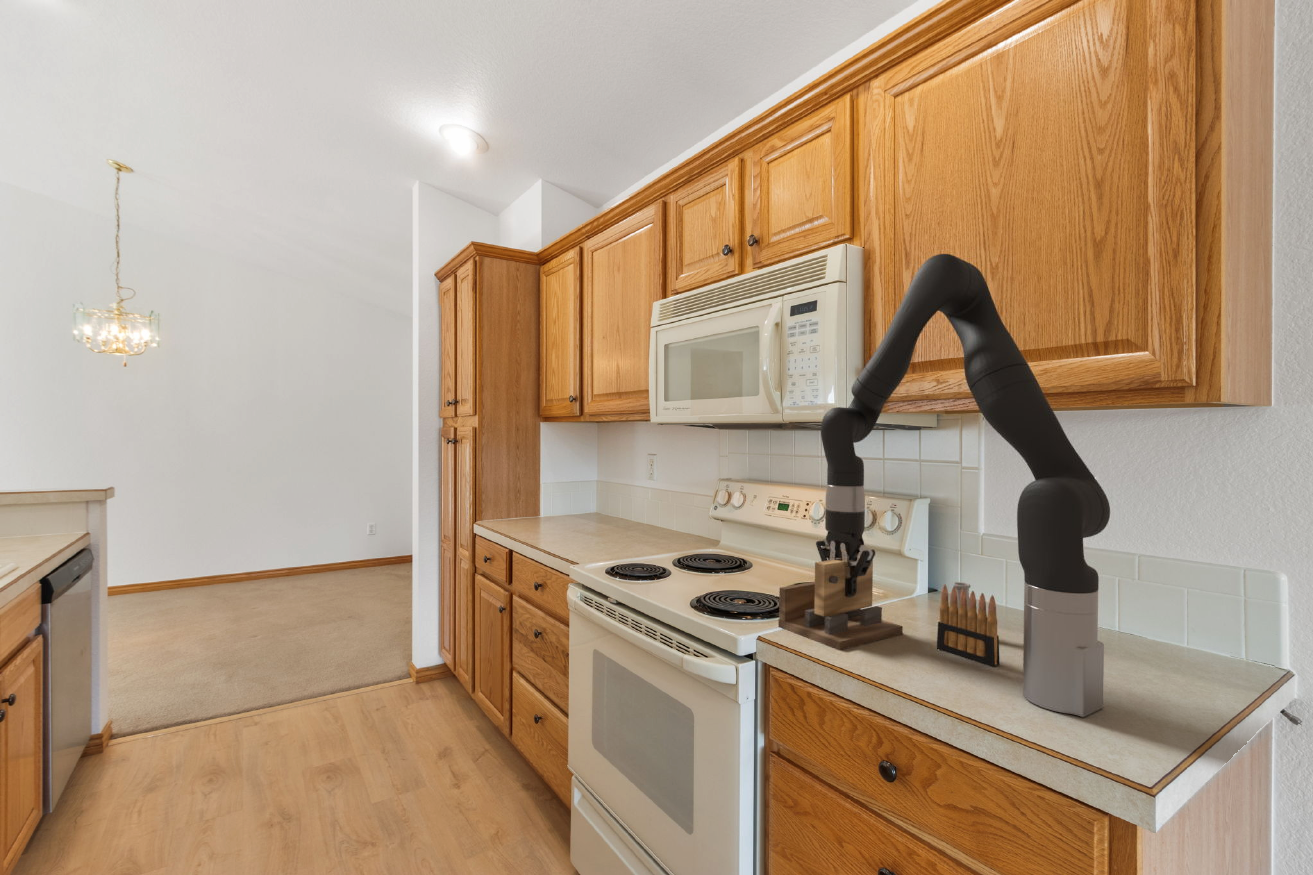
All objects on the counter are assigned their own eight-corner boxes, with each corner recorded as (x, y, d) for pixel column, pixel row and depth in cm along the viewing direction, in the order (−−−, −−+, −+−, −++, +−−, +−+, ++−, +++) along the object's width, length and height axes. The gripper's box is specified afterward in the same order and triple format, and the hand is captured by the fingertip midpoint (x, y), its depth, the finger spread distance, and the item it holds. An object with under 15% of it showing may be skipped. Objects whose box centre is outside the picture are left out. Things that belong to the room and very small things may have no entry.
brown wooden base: (902, 633, 124) (903, 593, 124) (839, 650, 114) (839, 606, 114) (839, 613, 137) (839, 576, 137) (778, 626, 128) (778, 587, 128)
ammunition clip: (999, 665, 107) (1000, 595, 107) (993, 667, 106) (994, 597, 106) (942, 647, 116) (943, 582, 116) (936, 648, 115) (937, 583, 115)
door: (876, 607, 127) (876, 558, 126) (827, 617, 119) (828, 565, 119) (862, 603, 129) (863, 555, 129) (814, 613, 122) (815, 562, 122)
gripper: (886, 510, 121) (885, 600, 121) (831, 503, 132) (830, 584, 133) (860, 513, 117) (859, 605, 117) (805, 505, 128) (804, 589, 129)
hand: (843, 594), depth 125 cm, fingers closed on door, 2 cm apart
